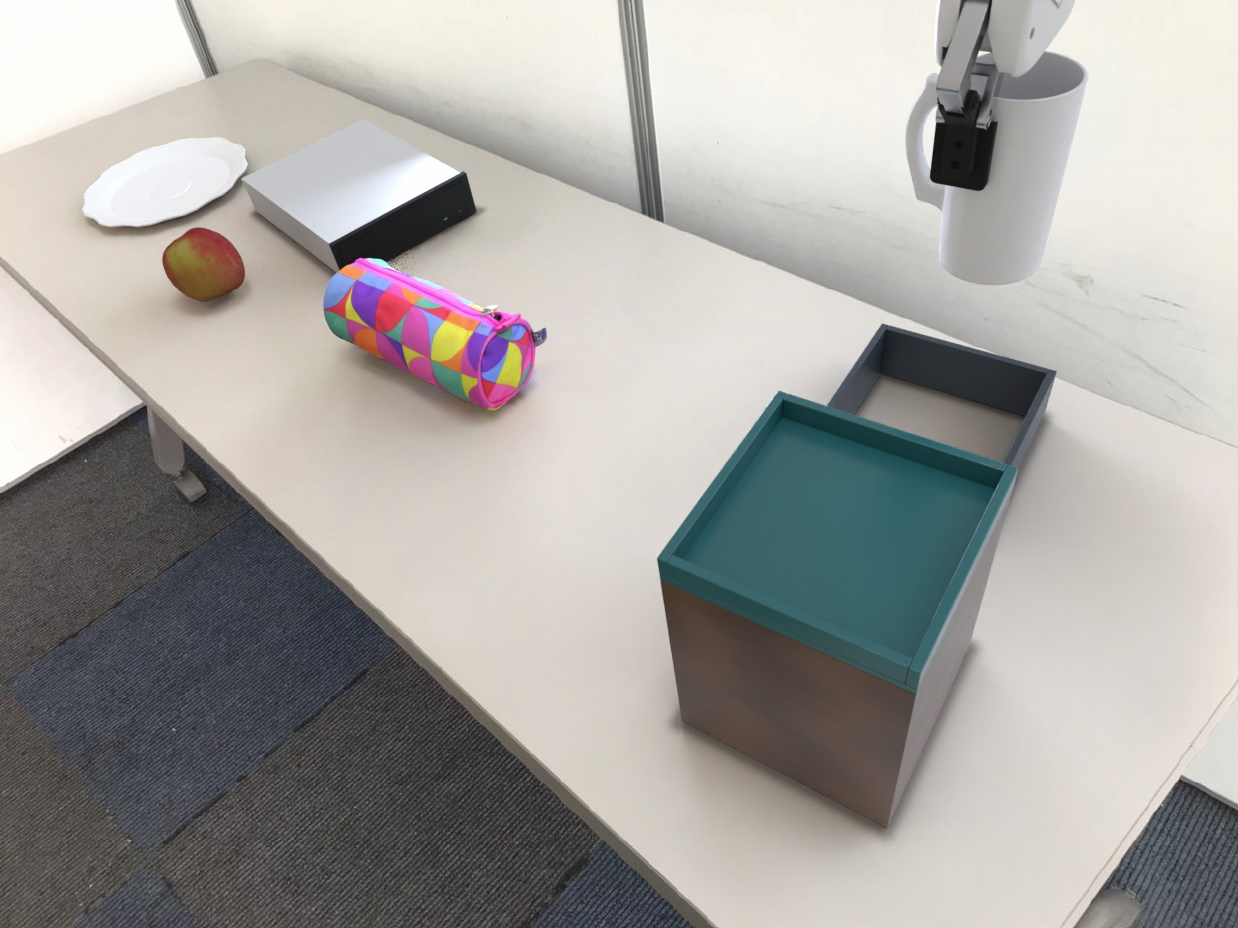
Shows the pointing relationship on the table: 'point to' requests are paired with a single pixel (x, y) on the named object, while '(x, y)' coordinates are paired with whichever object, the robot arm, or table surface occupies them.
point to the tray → (842, 535)
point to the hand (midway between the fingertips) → (980, 151)
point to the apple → (203, 264)
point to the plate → (164, 182)
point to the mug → (1005, 172)
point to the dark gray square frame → (952, 378)
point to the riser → (813, 698)
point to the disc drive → (360, 195)
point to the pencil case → (432, 332)
